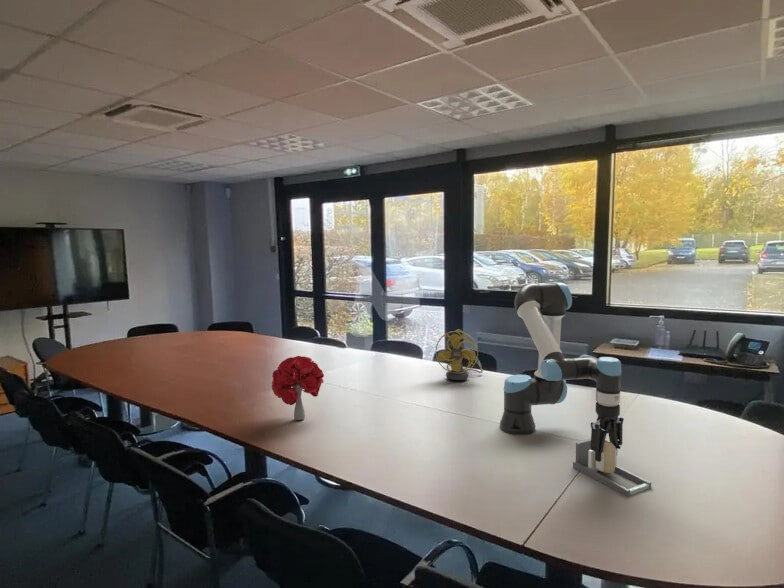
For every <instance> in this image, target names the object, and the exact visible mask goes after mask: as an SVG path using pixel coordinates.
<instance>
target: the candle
mask: <svg viewBox="0 0 784 588" xmlns="http://www.w3.org/2000/svg"><path fill="white" fill-rule="evenodd" d="M602 452H604V471H601V470H600V472H602V473H605V474H612V473H615V446H614V445H613V444H612V442H610V441H608V440H606V439H605V443H604V447H603V451H602ZM598 470H599V469H598Z"/></svg>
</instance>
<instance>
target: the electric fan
mask: <svg viewBox="0 0 784 588" xmlns="http://www.w3.org/2000/svg"><path fill="white" fill-rule="evenodd" d="M450 333H452V334H451V335H449V334H450ZM444 337H446V338H447V340H446V350H442V351H441V350H440V351H439V352H438V354H437V351H438V349H437V348H438V345H439V343H440V341H441V339H443V338H444ZM468 338H470V339H471V340H472V341H471V340H468ZM462 339H464V340H463V341H461V340H462ZM465 339H466V340H465ZM466 343H467V344H469V345H471V346H472V347H476V350H474V349H473V350H472V349H469V348H465V346H464V345H463V344H466ZM475 351H476V352H475ZM476 353H477V354H476ZM478 356H479V348H478V344H477V343H476V341H475V340H474V338H473V337H472V336H471V335H470V334H469V333H466V332H464V331H463V330H462V329H456V330H454V331H448V332H446V333H445V334H443V335H441V337H440V338H439V339H438V341H437V343H436V345H435V357H436V361H437V362H438V364H439V365H440V366H441V368H443V369H444V370H446V371H447V372H445V373H446V375H445V377H446V379H448V380H454V381H463V380H468V378H469V372H468V371H473V372H475V373H476V372H477V373H479V374H483V373H484V371H483V368H482V363H481V361H480V360H479V357H478ZM464 359H465V360H467V361H468V364H467V366H466V367H465V368H464V367H463V362H462V361H463V360H464ZM444 361H447V362H448V363H447V365H446V368H445V367H444V366H443V365H442V364H441V362H444ZM475 364H477V365H478V366H479V369H480V370H478V369H474V368H473V367H474V366H476V365H475ZM449 367H450V368H449Z"/></svg>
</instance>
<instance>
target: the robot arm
mask: <svg viewBox="0 0 784 588" xmlns="http://www.w3.org/2000/svg"><path fill="white" fill-rule="evenodd" d="M572 296H573V295H572V293H571V290H570V288H569V286H568V285H567V284H566V283H563V282H555V281H554V282H539V283H536V282H533V283H532V282H531V283H528V284H524V285H523V286H521V287H520V289H519V290H518V291H517V293H516V294H515V298H514V308H515V312H516V314H517V316H518V317H519V318H521V319H522V320H523V323H524V325H525V326H526V328H527V331H528V333H529V335H530V337H531V339H532V341H533V343H534V346H535V347H536V349H537V351H538V362H537V363H538V364H537V365H538V366H537V370H535V372H534V374H533V377H531V375H527V374H513V375H510V376H507V377H506V378H505V380H504V384H503V412H502V416H501V419H500V422H499V429H500V430H501V431H502V432H504V433H507V434H510V435H515V436H526V435H531V434H533V433H535V432H536V423H535V420H534V417H533V414H532V406H544V405H555V404H561V403H562V402H564V401H565V399H566V397H567V395H568V385H567V381H569V380H584V379H589V380H592V381H595V383H596V385H595V388H596V389H595V401H596V402H595V413H596V414H597V419H596V421H595V422H591V423H590V428H591V433H590V434H591V435H590V438H591V450H593V451H595V460H596V468H597V469H599V470H601V471H604V452H602V451H603V447H604V443H605V440H606V437H607V434H608V439H609V442H612V444H613V445H614V446H615V467H616V465H617V461H618V460H617V459H618V458H617V456H618V450H620V449H621V448H622V447H621V446H622V445H623V423H624V421H625V420H624V417H621V416H620V413H621V405H620V403H621V389H622V387H621V384H622V372H623V371H622V362H621V360H619V359H618V358H616V357H613V356H600V357H599V358H597V357H596V356H593V355H588V354H582V355H579V356H578V357H571V358H568V357H567V358H566V357H565V355H564V354H563V352H562V350H561V335H562V334H561V333H562V331H561V330H562V329H561V328H562V318H563V317H565V316H566V311H567V310H569V309H570V308H571V307H572V304H573V298H572ZM601 471H600V472H601Z"/></svg>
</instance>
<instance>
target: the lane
mask: <svg viewBox="0 0 784 588" xmlns="http://www.w3.org/2000/svg"><path fill="white" fill-rule="evenodd" d="M589 450H591V437H590V438H588V439H584V440H580V441H576V442H575V461H572V468H574V469H576V470H578V471H579V472H582V473H583V474H586V475H587V476H589V477H590V478H593V479H594V480H597V482H600V483H602V484H604V485H605V486H608V487H610V488H611V489H613V490H615V491H617V492H619V493H621V494H623V496H626V497H629V496H632V495H634V494H637V493H640V492H643V491H645V489H646V490H648V489H650V488H652V482H651V481H649V480H648V479H645V478H644V477H642V476H640V475H637V474H635V473H633V472H631V471H629V470H627V469H625V468H623V467H622V466H619V465H617V464H616V467H615V471H614V473H617V474H619V475H621V476H623V477H625V478H627V479H629V480H630V481H633V482H634V483H635V482H636V483H637V484H638V485H636V486H633V487H630V488H627V487H625V486H623V485H621V484H620V483H618V482H616V481H614V480H612V479H610V478H608V477H607V476H605V475H603V474H601V473H599V472H598V471H597V472H595V471H593V470H591V469H590V468H588V452H589Z"/></svg>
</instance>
